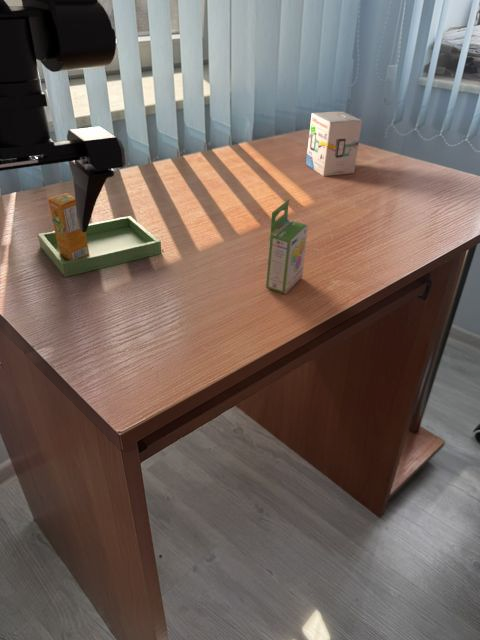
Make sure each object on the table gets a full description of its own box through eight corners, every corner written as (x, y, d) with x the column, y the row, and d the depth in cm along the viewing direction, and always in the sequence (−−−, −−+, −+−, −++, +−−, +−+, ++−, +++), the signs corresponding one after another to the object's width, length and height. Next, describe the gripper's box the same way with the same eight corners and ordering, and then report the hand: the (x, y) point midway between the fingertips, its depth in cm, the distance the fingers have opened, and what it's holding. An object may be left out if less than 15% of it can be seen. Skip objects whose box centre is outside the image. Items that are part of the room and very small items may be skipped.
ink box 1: (286, 295, 74) (293, 218, 67) (264, 288, 76) (270, 212, 68) (302, 277, 79) (311, 203, 72) (282, 271, 80) (288, 198, 73)
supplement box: (58, 262, 77) (45, 197, 71) (78, 255, 79) (67, 191, 73) (72, 270, 75) (60, 204, 69) (92, 262, 78) (81, 197, 72)
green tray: (65, 277, 75) (62, 264, 74) (40, 246, 82) (37, 234, 81) (161, 253, 82) (160, 241, 81) (131, 227, 90) (130, 215, 88)
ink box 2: (304, 164, 123) (310, 111, 116) (335, 161, 126) (342, 110, 119) (323, 176, 117) (330, 121, 109) (354, 173, 120) (363, 119, 113)
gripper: (76, 58, 56) (96, 199, 65) (-130, 66, 46) (-72, 229, 56) (119, 77, 49) (134, 232, 58) (-114, 91, 39) (-50, 273, 49)
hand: (40, 239), depth 55 cm, fingers open, 9 cm apart
